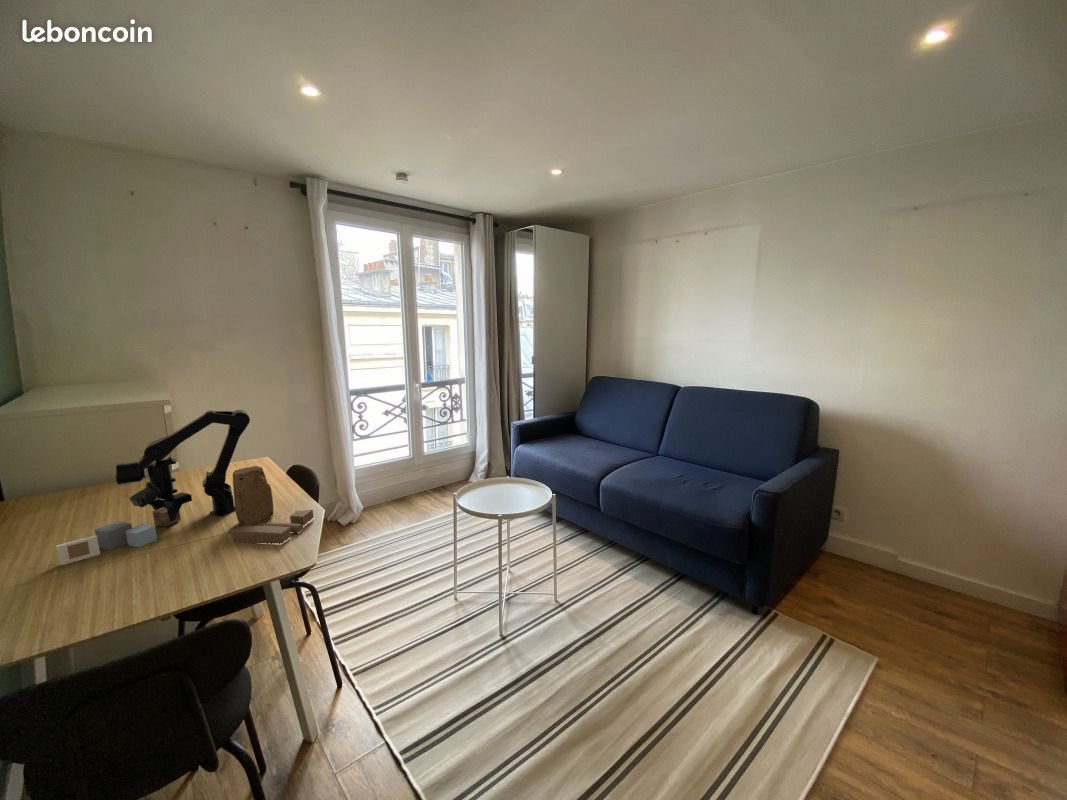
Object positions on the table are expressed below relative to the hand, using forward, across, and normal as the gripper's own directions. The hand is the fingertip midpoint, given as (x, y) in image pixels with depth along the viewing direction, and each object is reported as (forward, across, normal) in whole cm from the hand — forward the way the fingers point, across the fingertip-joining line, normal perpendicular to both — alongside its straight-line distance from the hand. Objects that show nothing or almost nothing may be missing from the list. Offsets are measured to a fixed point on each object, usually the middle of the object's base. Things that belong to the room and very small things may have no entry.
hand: (167, 519), depth 141 cm
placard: (+2, 0, -23) cm, 23 cm away
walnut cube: (+1, 0, 0) cm, 1 cm away
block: (+2, +27, +11) cm, 29 cm away
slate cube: (+2, +6, -11) cm, 13 cm away
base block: (+2, -1, -14) cm, 14 cm away
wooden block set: (+2, +40, +8) cm, 41 cm away
